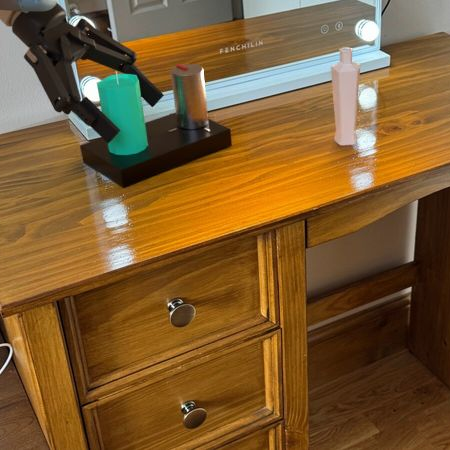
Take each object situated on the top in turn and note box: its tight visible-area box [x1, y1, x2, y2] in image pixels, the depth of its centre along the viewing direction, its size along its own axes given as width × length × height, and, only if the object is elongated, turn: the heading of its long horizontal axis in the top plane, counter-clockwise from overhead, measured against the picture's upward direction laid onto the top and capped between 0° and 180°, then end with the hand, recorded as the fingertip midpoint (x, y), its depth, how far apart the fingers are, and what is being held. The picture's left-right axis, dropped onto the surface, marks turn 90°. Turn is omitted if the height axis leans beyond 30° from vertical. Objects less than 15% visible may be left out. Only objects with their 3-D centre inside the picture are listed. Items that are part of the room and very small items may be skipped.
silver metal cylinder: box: [170, 63, 209, 129], centre depth 121 cm, size 5×5×9 cm
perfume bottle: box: [330, 46, 361, 146], centre depth 119 cm, size 5×4×15 cm
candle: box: [96, 70, 148, 155], centre depth 113 cm, size 6×6×12 cm
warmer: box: [79, 111, 233, 189], centre depth 120 cm, size 22×12×3 cm, turn 132°
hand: (137, 118), depth 113 cm, fingers open, 13 cm apart
